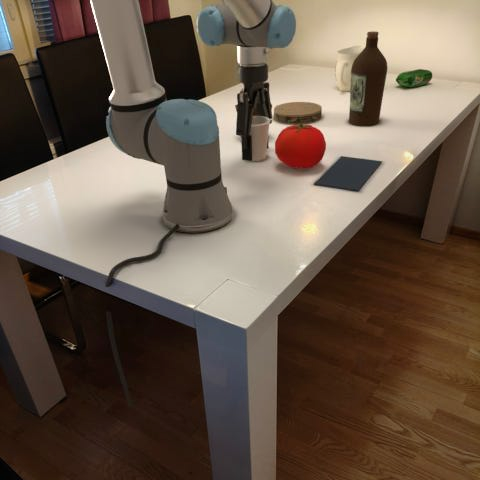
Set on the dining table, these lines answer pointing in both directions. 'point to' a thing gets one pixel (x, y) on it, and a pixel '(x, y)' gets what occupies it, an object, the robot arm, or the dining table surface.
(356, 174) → the placemat
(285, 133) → the tomato
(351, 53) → the pitcher
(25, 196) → the dining table surface
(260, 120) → the dixie cup
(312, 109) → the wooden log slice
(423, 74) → the snack package
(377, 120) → the olive oil
